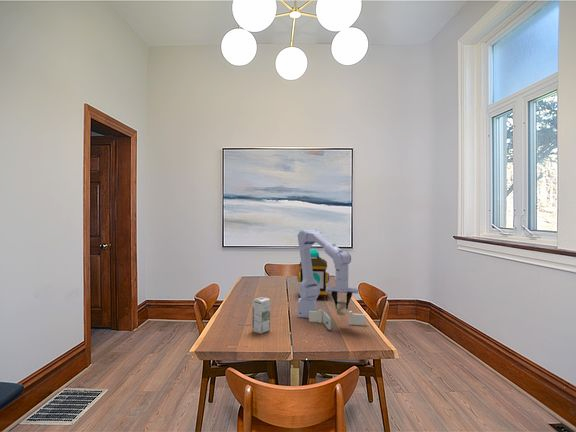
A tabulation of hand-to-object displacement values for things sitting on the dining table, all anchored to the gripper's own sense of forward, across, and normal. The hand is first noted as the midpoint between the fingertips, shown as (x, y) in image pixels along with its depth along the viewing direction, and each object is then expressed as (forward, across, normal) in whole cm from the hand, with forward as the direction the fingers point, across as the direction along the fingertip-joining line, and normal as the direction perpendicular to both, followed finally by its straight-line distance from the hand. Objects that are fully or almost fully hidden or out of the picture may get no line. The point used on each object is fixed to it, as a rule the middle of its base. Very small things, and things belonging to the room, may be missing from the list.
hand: (341, 308), depth 154 cm
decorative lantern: (+10, -20, +54) cm, 58 cm away
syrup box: (+10, -35, -10) cm, 38 cm away
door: (+9, -8, +1) cm, 12 cm away
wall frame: (+9, -3, +7) cm, 12 cm away
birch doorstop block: (+2, 0, 0) cm, 2 cm away
